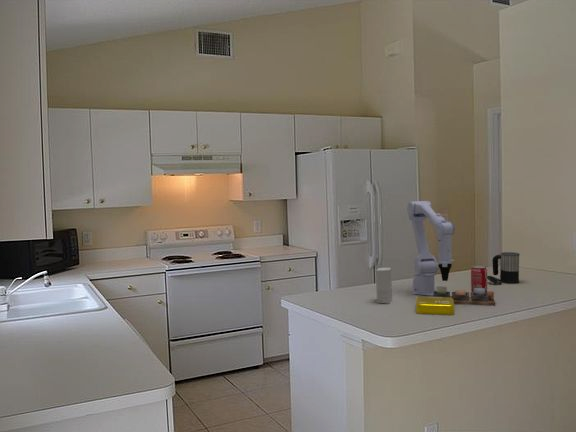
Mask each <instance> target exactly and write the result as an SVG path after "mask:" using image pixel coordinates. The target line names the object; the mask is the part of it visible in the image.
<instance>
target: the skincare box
mask: <svg viewBox="0 0 576 432" xmlns="http://www.w3.org/2000/svg"><path fill="white" fill-rule="evenodd" d="M375 278H376V281H375V282H376V283H375V284H376V303H378V304H387V305H389V304H391V301H392V300H393V289H392V288H393V285H392V282H393V281H392V268H391V267H378V268H377V269H376V270H375Z"/></svg>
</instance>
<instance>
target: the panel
mask: <svg viewBox="0 0 576 432" xmlns="http://www.w3.org/2000/svg"><path fill="white" fill-rule="evenodd" d="M469 293H470V294H469ZM427 297H451V298H453V300H454V305H465V306H466V305H471V306H489V307H490V306H493V307H495V306H496V301H495V292H494V291H490V290H489V291H487V293H485V296H478V295H474V292H471V291H470V292H469V291H466V295H455V291H452V292H451V291H447V294H436V290H434V294H433V295H427Z"/></svg>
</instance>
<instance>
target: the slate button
mask: <svg viewBox="0 0 576 432" xmlns="http://www.w3.org/2000/svg"><path fill="white" fill-rule="evenodd" d="M474 295H478V296H485V289H484V288H474Z"/></svg>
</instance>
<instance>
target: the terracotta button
mask: <svg viewBox="0 0 576 432" xmlns="http://www.w3.org/2000/svg"><path fill="white" fill-rule="evenodd" d="M454 292H455V295H466V292H467V291H466V290H463V289H462V290H461V289H459V290H455V291H454Z"/></svg>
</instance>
